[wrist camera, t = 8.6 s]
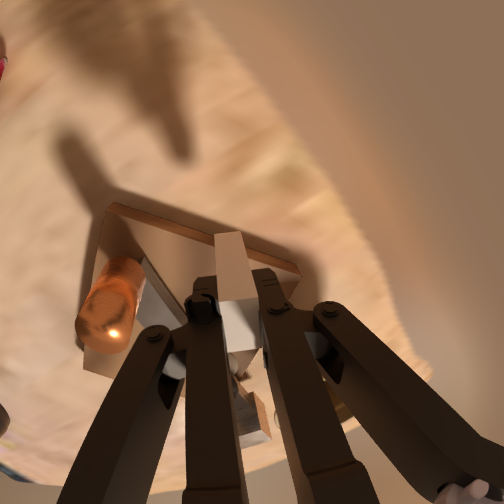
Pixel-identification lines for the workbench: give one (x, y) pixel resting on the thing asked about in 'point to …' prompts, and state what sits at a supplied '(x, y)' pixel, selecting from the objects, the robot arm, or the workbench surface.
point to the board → (170, 271)
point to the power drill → (2, 66)
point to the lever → (151, 313)
